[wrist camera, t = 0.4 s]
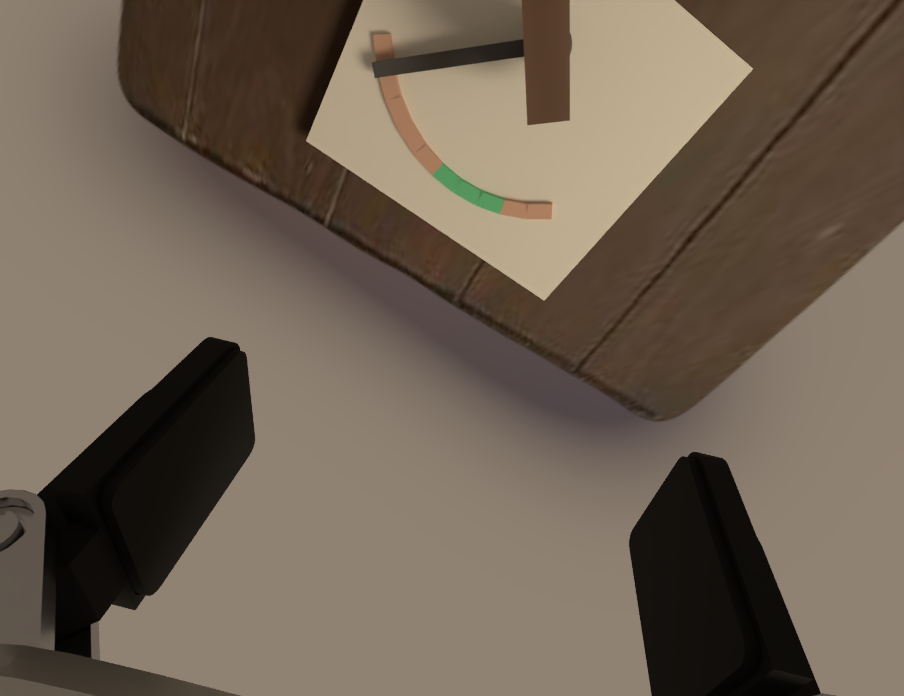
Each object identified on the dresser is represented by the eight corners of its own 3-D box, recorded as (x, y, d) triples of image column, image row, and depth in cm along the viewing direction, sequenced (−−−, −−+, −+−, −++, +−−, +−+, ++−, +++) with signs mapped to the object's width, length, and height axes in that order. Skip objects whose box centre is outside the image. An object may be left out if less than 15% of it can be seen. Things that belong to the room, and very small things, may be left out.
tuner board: (450, -189, 24) (443, -204, 22) (744, 66, 28) (755, 69, 26) (314, 136, 34) (303, 142, 32) (544, 291, 38) (544, 303, 36)
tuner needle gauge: (570, -16, 25) (578, -27, 18) (570, 90, 28) (577, 119, 21) (368, 18, 28) (301, 21, 20) (386, 114, 31) (333, 147, 23)
